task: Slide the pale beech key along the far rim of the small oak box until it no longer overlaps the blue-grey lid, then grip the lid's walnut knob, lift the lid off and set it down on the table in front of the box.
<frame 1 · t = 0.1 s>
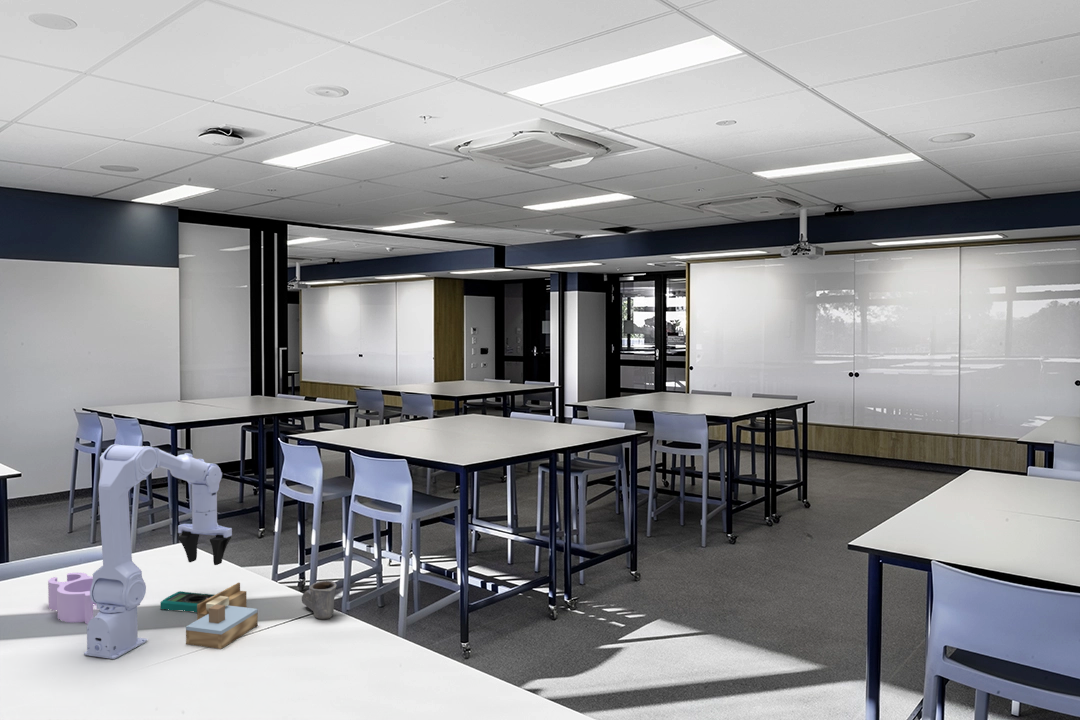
hand: (205, 562, 187), 10 cm above the table, tool pointing down, fingers open, 7 cm apart
digital multimeter: (194, 609, 184), on the table
toolbox: (222, 634, 168), on the table
pipe: (318, 614, 181), on the table
clip: (82, 611, 182), on the table
lid: (222, 620, 168), point 3 cm above the table, touching toolbox
key: (217, 604, 172), point 5 cm above the table, slide at 0.0 cm
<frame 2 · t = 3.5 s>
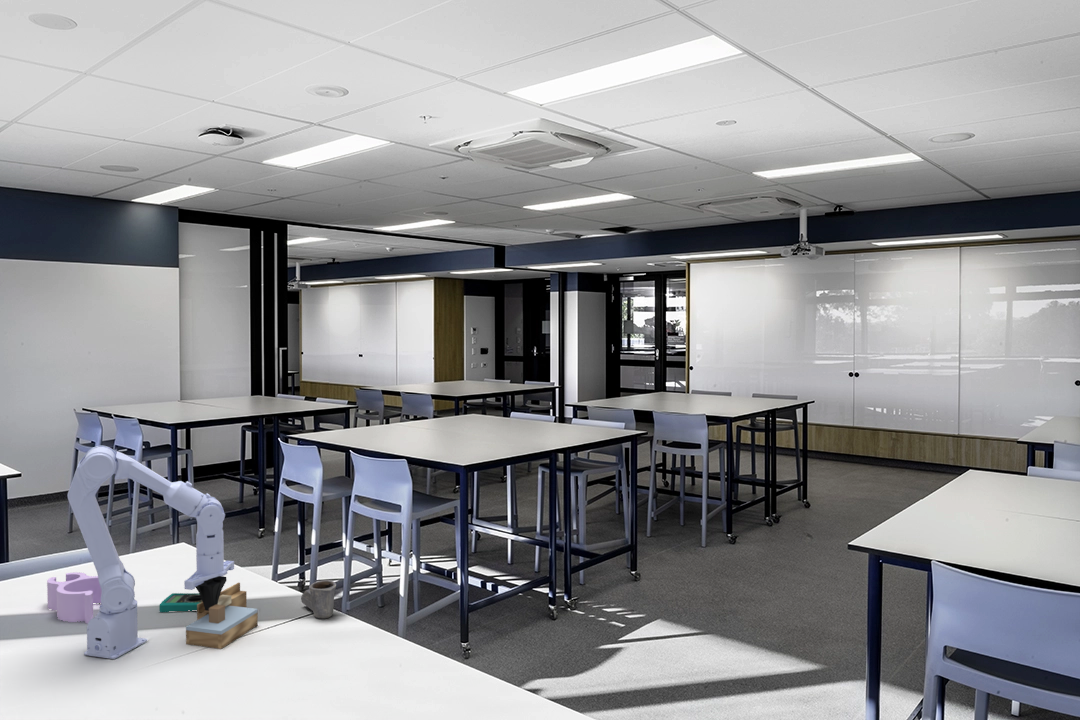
hand: (210, 609, 170), 5 cm above the table, tool pointing down, fingers closed
key: (220, 602, 173), point 5 cm above the table, slide at 0.9 cm, touching gripper
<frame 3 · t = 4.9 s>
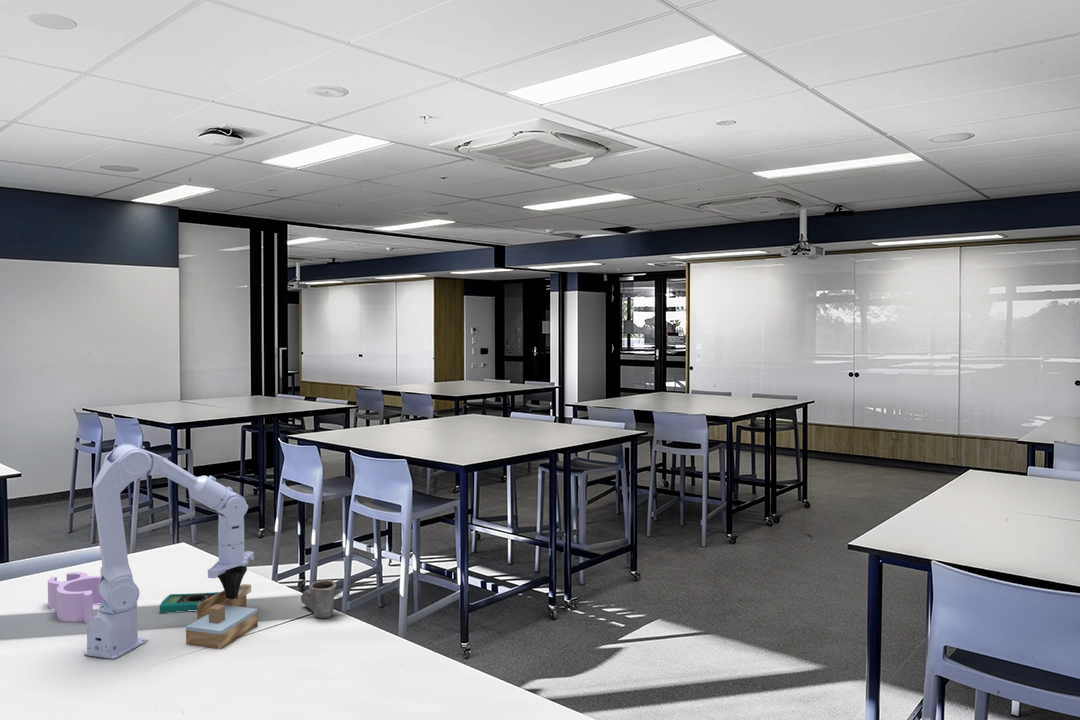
hand: (231, 598, 177), 5 cm above the table, tool pointing down, fingers closed
key: (240, 591, 181), point 5 cm above the table, slide at 8.5 cm, touching gripper
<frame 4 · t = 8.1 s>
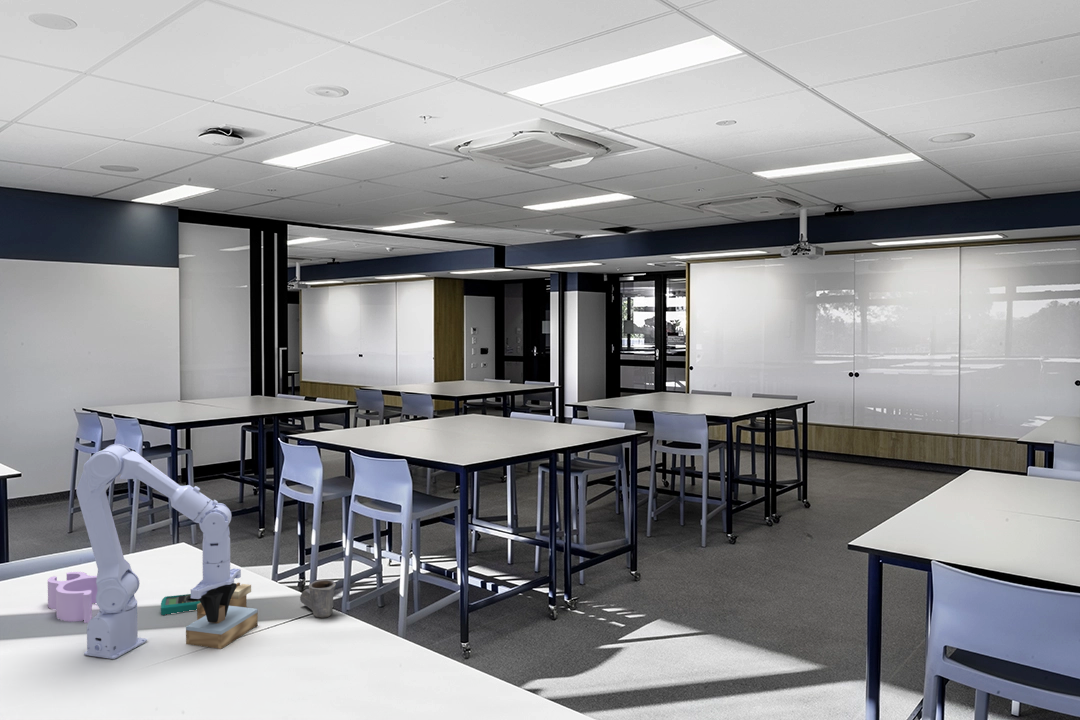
hand: (216, 619, 166), 4 cm above the table, tool pointing down, fingers closed on lid, 2 cm apart
lid: (222, 620, 168), point 3 cm above the table, touching gripper, toolbox
key: (240, 591, 181), point 5 cm above the table, slide at 8.5 cm
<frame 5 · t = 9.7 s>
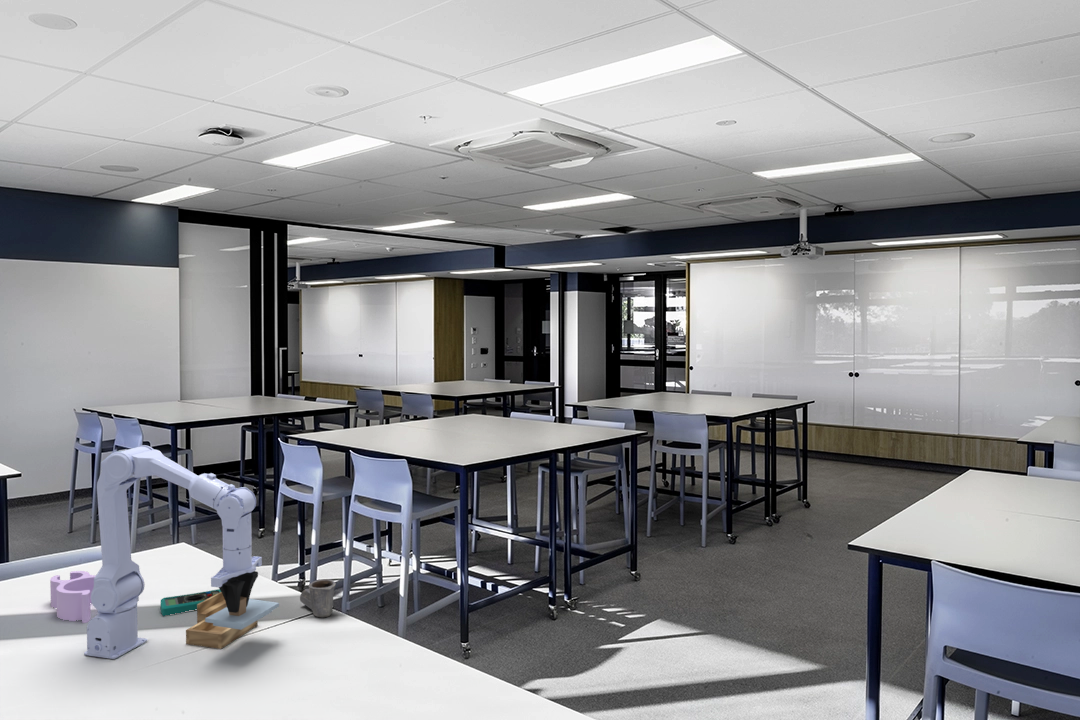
hand: (237, 609, 158), 10 cm above the table, tool pointing down, fingers closed on lid, 2 cm apart
lid: (243, 613, 160), point 8 cm above the table, touching gripper
when the fingers open (3 cm above the table, at t = 11.3 s): lid stays where it is, point 1 cm above the table.
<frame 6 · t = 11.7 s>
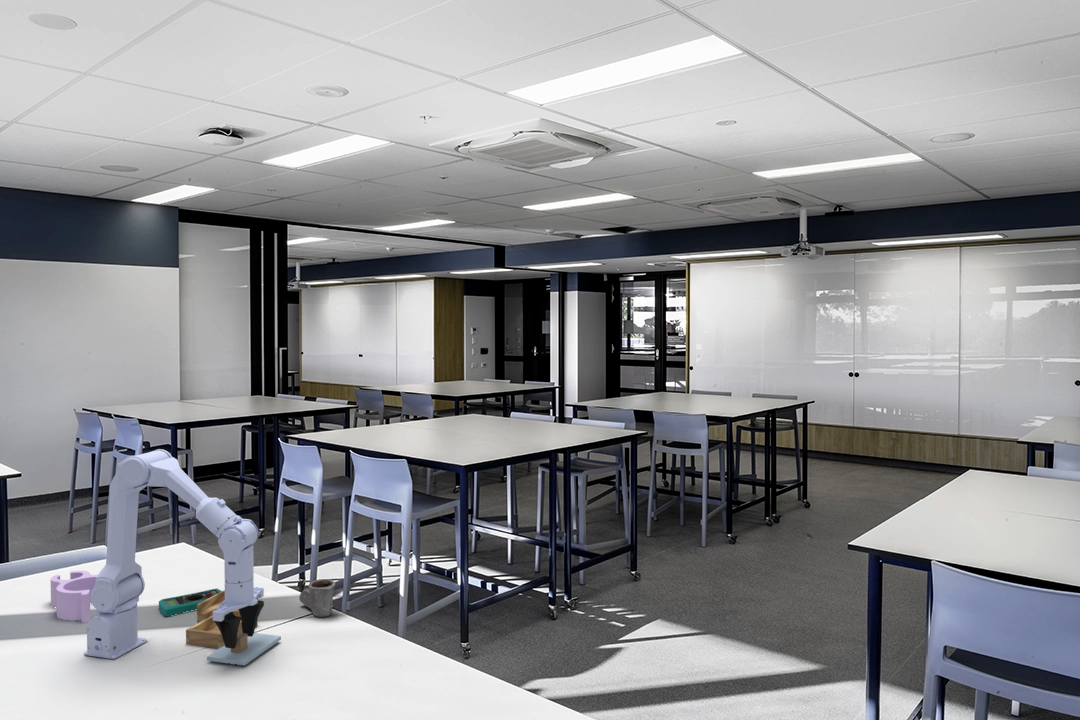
hand: (239, 641, 157), 3 cm above the table, tool pointing down, fingers open, 5 cm apart
lid: (245, 649, 159), point 1 cm above the table
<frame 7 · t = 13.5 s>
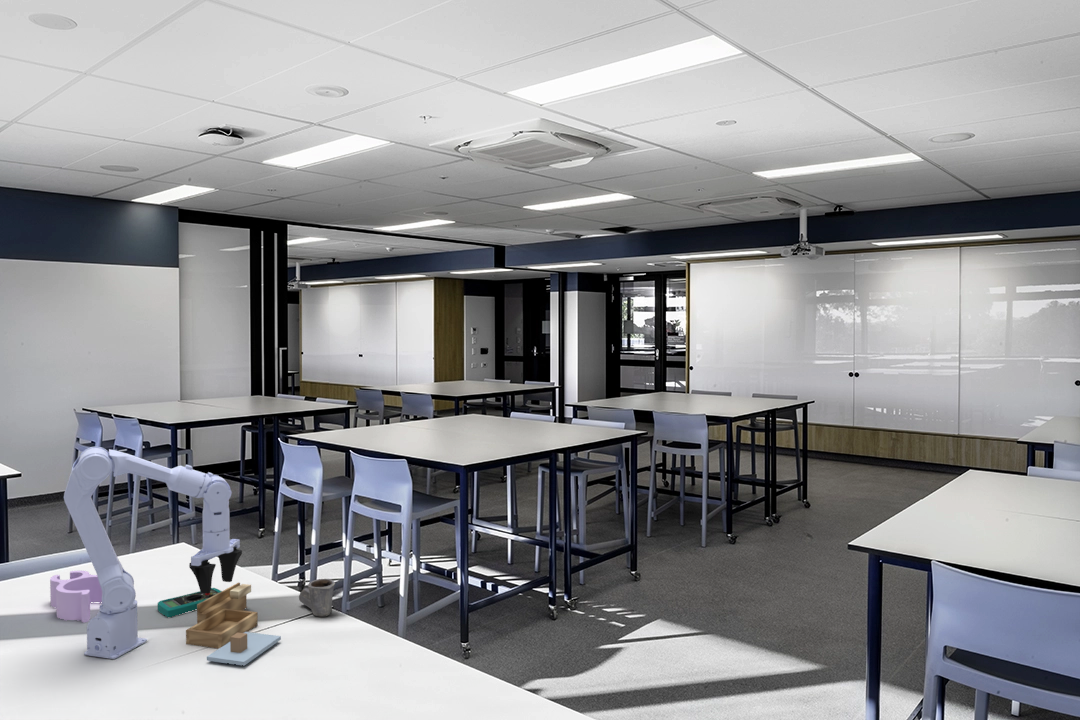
hand: (216, 586, 171), 10 cm above the table, tool pointing down, fingers open, 7 cm apart
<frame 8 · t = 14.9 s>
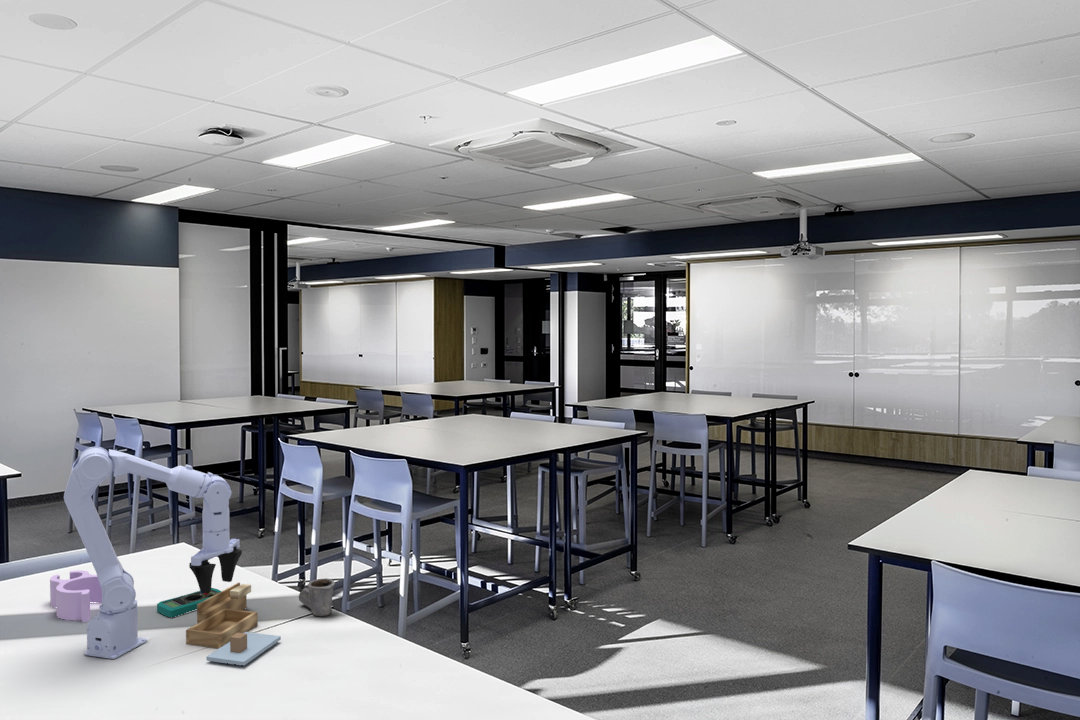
hand: (216, 586, 171), 10 cm above the table, tool pointing down, fingers open, 7 cm apart
at the end: key slide at 8.5 cm; lid inside the target area (1.4 cm from its centre), point 0.6 cm above the table; lid tilted 0° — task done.
